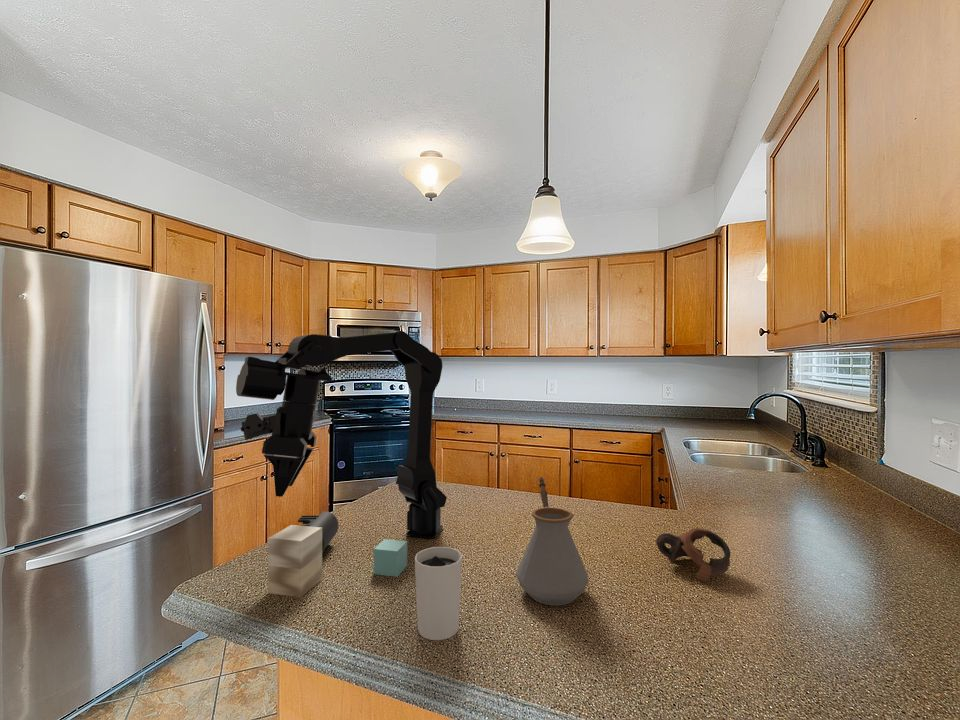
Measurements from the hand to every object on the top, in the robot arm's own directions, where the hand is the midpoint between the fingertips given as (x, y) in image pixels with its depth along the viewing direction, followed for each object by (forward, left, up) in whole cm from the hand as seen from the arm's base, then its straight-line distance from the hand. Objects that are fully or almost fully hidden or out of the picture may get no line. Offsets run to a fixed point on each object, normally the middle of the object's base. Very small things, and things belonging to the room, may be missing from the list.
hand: (284, 490), depth 79 cm
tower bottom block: (-5, +3, -15) cm, 16 cm away
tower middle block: (-5, +3, -10) cm, 12 cm away
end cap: (0, -9, -15) cm, 18 cm away
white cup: (-32, +9, -15) cm, 36 cm away
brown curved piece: (-71, -18, -15) cm, 75 cm away
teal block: (-18, -6, -15) cm, 24 cm away
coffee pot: (-46, -9, -15) cm, 49 cm away
